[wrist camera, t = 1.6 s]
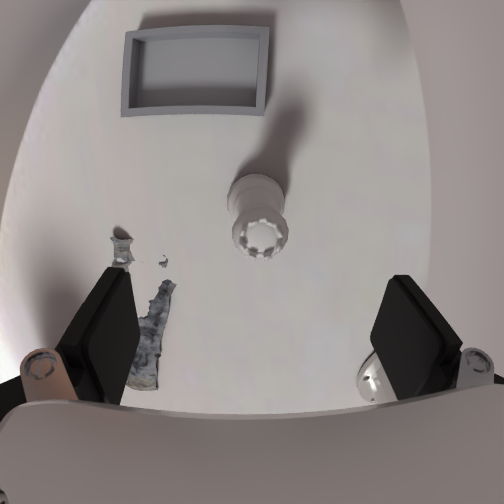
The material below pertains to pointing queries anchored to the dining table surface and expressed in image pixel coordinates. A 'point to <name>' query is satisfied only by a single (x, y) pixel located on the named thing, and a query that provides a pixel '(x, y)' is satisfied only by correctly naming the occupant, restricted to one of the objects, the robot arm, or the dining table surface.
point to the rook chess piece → (257, 216)
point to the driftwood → (146, 325)
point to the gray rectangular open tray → (195, 70)
